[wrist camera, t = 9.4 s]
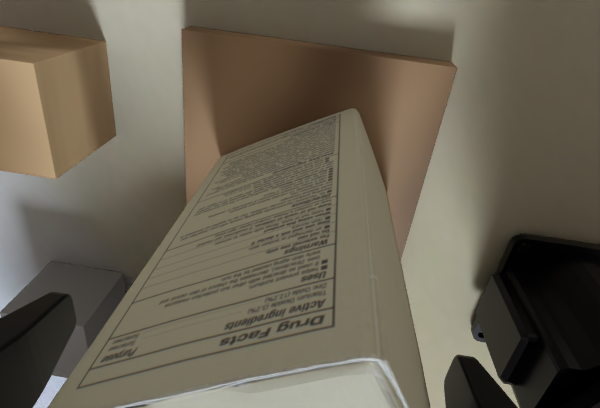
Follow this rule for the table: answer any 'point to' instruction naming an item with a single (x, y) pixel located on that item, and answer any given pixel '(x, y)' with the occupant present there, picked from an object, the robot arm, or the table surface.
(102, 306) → the gray cube
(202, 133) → the walnut board
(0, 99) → the oak block
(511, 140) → the table surface
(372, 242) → the skincare box
